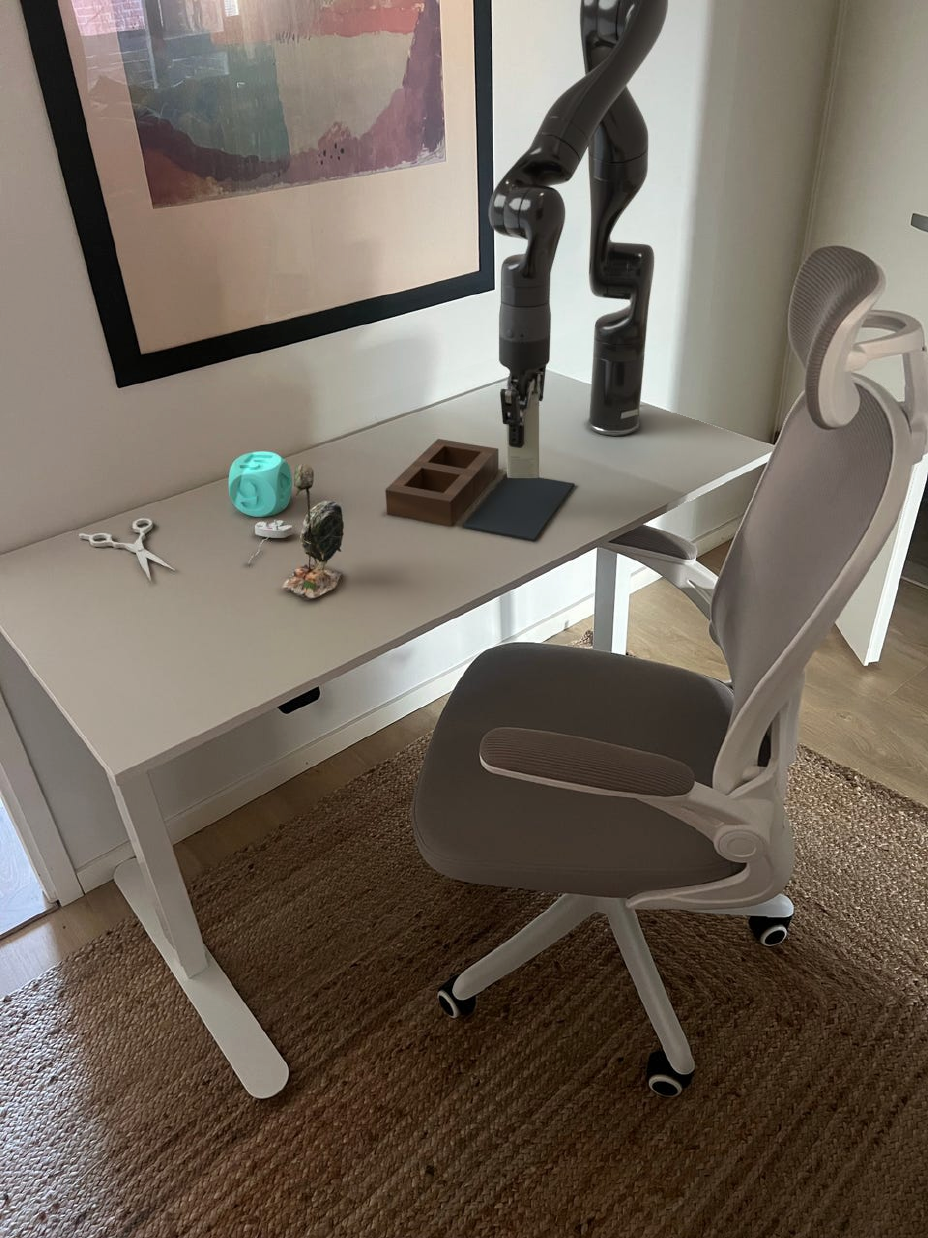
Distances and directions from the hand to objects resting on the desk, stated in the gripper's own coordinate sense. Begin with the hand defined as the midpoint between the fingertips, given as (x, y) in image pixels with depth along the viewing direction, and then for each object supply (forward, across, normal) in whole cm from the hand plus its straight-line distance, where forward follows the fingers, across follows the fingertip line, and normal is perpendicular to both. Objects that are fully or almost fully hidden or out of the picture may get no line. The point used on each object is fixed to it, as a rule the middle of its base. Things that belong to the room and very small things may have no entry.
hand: (522, 438), depth 153 cm
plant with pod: (+13, -31, +20) cm, 39 cm away
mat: (+12, +1, +1) cm, 12 cm away
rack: (+12, +1, +14) cm, 19 cm away
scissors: (+12, -34, +50) cm, 62 cm away
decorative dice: (+13, -14, +40) cm, 44 cm away
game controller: (+13, -25, +33) cm, 43 cm away
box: (+6, 0, 0) cm, 6 cm away
